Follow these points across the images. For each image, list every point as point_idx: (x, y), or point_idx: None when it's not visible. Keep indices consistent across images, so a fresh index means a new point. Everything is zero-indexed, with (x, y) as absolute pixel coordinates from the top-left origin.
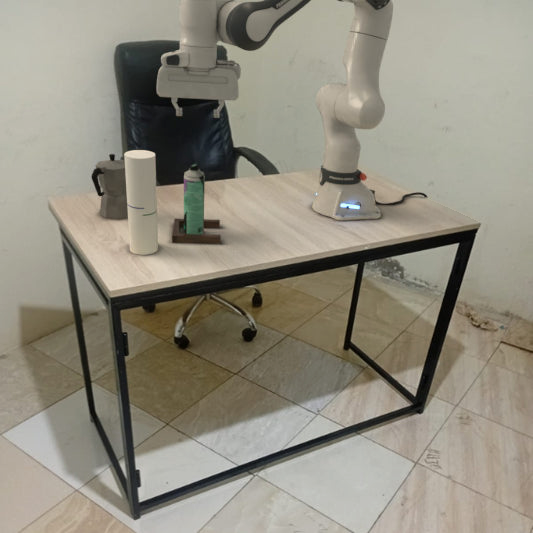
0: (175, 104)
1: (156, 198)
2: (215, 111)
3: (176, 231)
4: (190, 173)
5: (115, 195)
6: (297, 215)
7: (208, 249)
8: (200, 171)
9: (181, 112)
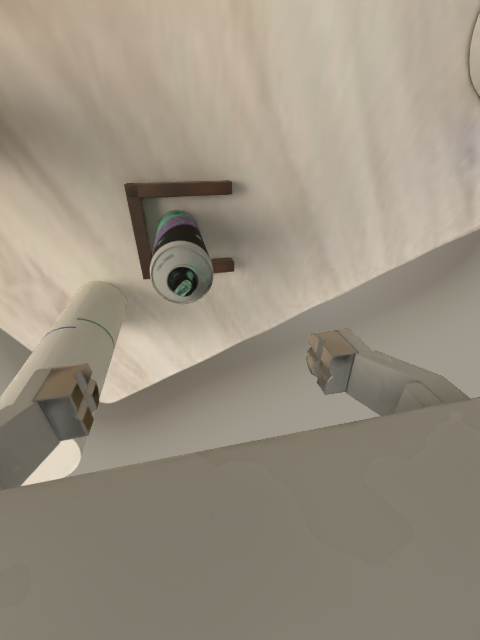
0: (17, 484)
1: (108, 358)
2: (333, 391)
3: (147, 258)
4: (173, 296)
5: None
6: (415, 87)
7: (212, 290)
8: (202, 277)
9: (91, 416)
